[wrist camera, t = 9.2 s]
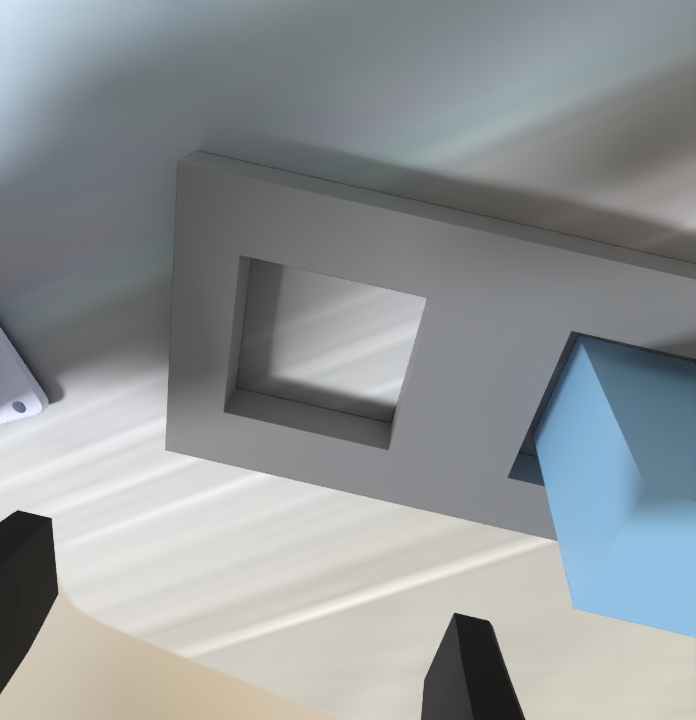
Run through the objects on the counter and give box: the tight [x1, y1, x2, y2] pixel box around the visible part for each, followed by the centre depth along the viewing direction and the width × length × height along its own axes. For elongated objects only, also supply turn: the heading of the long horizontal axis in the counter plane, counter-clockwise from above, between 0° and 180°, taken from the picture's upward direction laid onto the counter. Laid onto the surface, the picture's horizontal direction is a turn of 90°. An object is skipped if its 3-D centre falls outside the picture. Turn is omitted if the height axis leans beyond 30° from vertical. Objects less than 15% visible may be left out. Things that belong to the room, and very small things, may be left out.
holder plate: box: [165, 151, 696, 541], centre depth 19 cm, size 10×19×2 cm, turn 79°
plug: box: [533, 336, 696, 638], centre depth 17 cm, size 4×4×7 cm
